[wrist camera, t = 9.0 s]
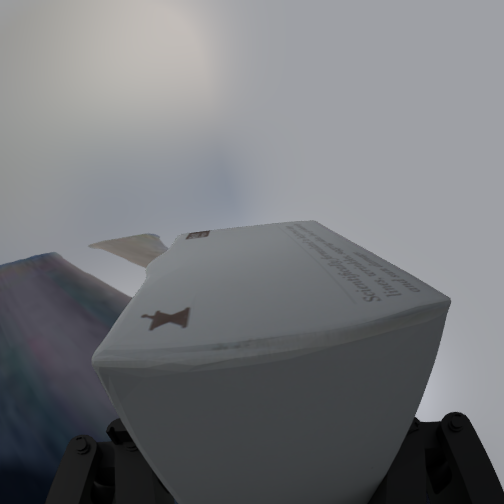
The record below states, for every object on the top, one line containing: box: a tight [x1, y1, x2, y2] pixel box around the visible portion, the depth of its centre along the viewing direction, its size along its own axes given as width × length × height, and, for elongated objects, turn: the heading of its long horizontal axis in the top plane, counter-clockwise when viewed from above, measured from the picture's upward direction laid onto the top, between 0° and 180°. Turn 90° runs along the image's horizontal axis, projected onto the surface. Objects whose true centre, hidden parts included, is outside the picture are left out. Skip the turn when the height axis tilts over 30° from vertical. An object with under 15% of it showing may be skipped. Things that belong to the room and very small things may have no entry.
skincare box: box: [92, 221, 451, 504], centre depth 9 cm, size 8×6×15 cm
